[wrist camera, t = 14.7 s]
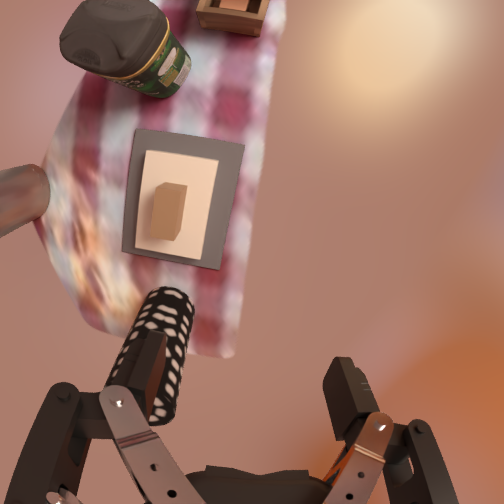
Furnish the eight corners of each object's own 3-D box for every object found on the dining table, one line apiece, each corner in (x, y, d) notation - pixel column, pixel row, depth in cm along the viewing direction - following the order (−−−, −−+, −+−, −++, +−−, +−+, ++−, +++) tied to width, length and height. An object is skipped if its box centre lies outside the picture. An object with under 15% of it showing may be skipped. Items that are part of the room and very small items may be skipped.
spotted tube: (135, 296, 44) (88, 386, 25) (178, 278, 43) (144, 372, 24) (162, 335, 46) (133, 429, 28) (203, 320, 46) (189, 420, 27)
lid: (201, 254, 41) (195, 274, 35) (139, 242, 40) (124, 260, 34) (218, 160, 36) (215, 164, 30) (150, 149, 35) (134, 151, 29)
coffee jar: (115, 83, 31) (37, 55, 14) (143, 36, 29) (85, -20, 12) (172, 107, 34) (118, 81, 16) (201, 58, 31) (174, -3, 14)
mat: (219, 268, 42) (219, 269, 42) (123, 250, 41) (122, 251, 40) (245, 145, 36) (245, 145, 36) (137, 128, 34) (136, 128, 34)
